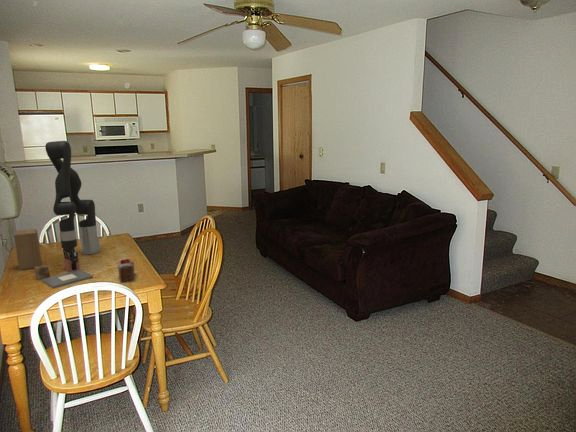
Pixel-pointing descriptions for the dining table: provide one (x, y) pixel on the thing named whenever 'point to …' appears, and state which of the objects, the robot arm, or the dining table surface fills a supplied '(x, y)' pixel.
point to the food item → (126, 270)
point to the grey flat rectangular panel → (67, 278)
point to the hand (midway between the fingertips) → (72, 268)
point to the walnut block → (42, 272)
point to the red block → (68, 265)
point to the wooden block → (27, 249)
